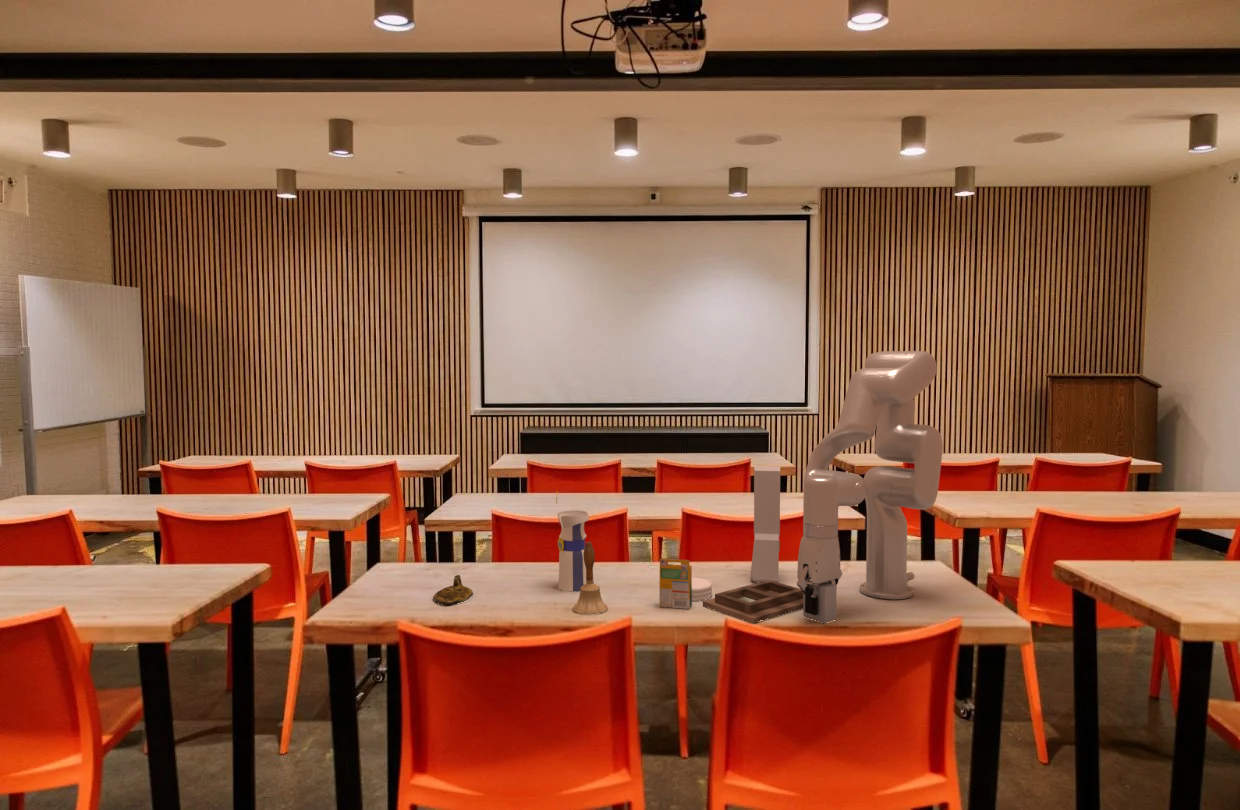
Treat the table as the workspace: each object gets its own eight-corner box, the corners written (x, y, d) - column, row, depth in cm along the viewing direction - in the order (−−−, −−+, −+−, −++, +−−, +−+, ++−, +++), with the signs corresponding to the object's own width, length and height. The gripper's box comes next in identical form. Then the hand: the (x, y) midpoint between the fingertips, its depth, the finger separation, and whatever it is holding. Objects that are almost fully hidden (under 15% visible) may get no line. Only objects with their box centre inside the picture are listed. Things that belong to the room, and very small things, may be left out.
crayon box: (692, 605, 186) (692, 557, 185) (689, 609, 183) (689, 560, 183) (661, 603, 188) (661, 555, 187) (659, 607, 185) (659, 558, 184)
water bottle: (563, 594, 196) (562, 494, 194) (552, 585, 203) (551, 489, 202) (594, 590, 199) (593, 492, 198) (582, 581, 207) (581, 487, 205)
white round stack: (720, 595, 195) (720, 581, 194) (695, 605, 187) (695, 590, 187) (687, 588, 201) (687, 574, 201) (663, 596, 194) (663, 582, 194)
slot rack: (765, 589, 199) (765, 576, 199) (816, 604, 187) (816, 591, 186) (702, 606, 185) (702, 592, 185) (753, 623, 173) (753, 609, 173)
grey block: (814, 613, 180) (814, 579, 179) (836, 620, 175) (836, 585, 175) (803, 617, 177) (803, 582, 177) (825, 624, 173) (825, 588, 172)
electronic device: (779, 585, 203) (780, 469, 201) (750, 583, 204) (750, 469, 203) (779, 572, 215) (780, 463, 213) (751, 571, 216) (752, 462, 215)
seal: (467, 611, 187) (475, 592, 201) (469, 592, 186) (477, 574, 201) (428, 608, 186) (439, 589, 201) (429, 588, 186) (440, 571, 201)
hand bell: (595, 617, 178) (594, 547, 177) (565, 611, 182) (564, 543, 181) (614, 607, 185) (614, 540, 184) (585, 602, 189) (585, 536, 188)
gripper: (830, 523, 183) (829, 599, 184) (782, 533, 173) (781, 614, 174) (857, 528, 177) (856, 607, 178) (809, 539, 167) (809, 623, 168)
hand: (819, 610), depth 176 cm, fingers open, 5 cm apart
